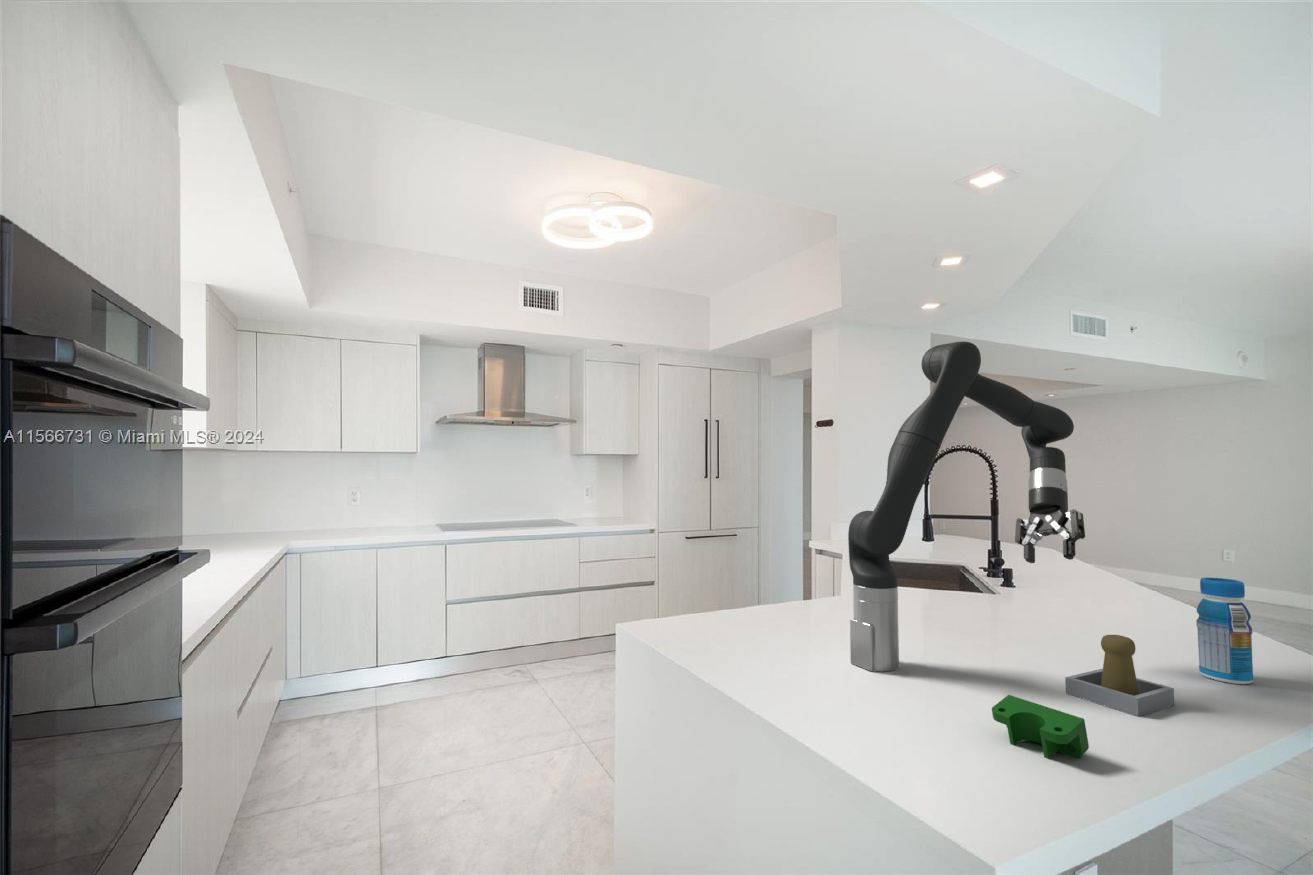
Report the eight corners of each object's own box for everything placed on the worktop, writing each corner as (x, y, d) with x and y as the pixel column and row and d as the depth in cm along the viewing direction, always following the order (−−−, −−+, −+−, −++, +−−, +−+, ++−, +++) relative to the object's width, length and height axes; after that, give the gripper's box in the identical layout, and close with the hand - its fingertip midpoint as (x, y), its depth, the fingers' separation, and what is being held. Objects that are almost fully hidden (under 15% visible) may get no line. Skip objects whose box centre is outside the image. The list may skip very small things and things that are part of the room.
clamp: (1009, 769, 95) (978, 711, 98) (1030, 751, 98) (999, 695, 101) (1082, 771, 85) (1046, 706, 88) (1103, 751, 88) (1067, 689, 91)
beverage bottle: (1197, 678, 124) (1193, 580, 125) (1198, 668, 131) (1195, 575, 132) (1255, 688, 119) (1250, 585, 120) (1253, 678, 125) (1249, 580, 126)
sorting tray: (1138, 716, 105) (1137, 698, 105) (1065, 693, 116) (1065, 677, 116) (1174, 705, 110) (1173, 688, 110) (1102, 683, 121) (1101, 668, 121)
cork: (1147, 703, 110) (1145, 641, 110) (1110, 700, 111) (1108, 639, 111) (1128, 691, 116) (1126, 632, 116) (1093, 688, 117) (1091, 630, 117)
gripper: (1007, 492, 143) (1006, 558, 137) (1068, 479, 131) (1070, 551, 125) (1029, 503, 146) (1029, 568, 139) (1090, 491, 133) (1094, 562, 127)
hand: (1048, 560), depth 132 cm, fingers open, 8 cm apart
